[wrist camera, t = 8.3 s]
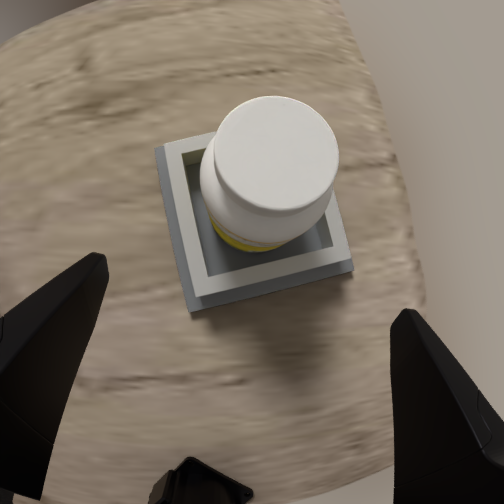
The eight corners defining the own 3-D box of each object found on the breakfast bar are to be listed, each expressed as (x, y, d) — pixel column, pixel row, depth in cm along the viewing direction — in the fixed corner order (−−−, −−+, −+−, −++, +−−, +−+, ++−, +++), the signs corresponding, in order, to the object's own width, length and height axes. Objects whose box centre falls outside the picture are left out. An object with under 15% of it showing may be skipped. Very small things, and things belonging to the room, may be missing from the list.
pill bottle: (250, 150, 22) (270, 55, 11) (315, 207, 22) (387, 151, 11) (189, 212, 22) (157, 152, 11) (256, 273, 22) (287, 270, 11)
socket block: (351, 270, 23) (368, 269, 20) (189, 311, 22) (183, 317, 19) (308, 121, 24) (318, 102, 21) (155, 151, 22) (147, 134, 19)
